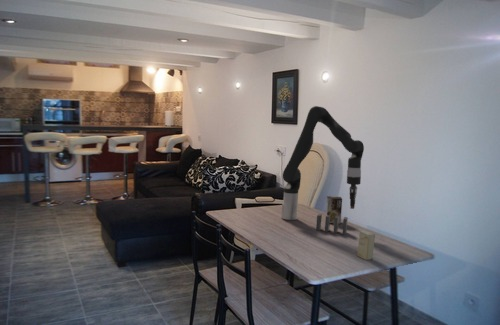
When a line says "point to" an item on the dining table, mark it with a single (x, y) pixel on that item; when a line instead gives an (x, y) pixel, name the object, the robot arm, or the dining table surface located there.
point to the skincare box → (366, 245)
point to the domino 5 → (354, 204)
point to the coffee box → (334, 208)
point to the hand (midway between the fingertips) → (352, 205)
